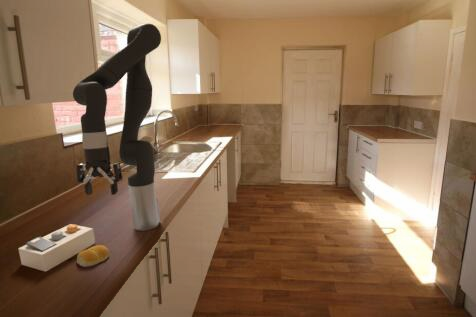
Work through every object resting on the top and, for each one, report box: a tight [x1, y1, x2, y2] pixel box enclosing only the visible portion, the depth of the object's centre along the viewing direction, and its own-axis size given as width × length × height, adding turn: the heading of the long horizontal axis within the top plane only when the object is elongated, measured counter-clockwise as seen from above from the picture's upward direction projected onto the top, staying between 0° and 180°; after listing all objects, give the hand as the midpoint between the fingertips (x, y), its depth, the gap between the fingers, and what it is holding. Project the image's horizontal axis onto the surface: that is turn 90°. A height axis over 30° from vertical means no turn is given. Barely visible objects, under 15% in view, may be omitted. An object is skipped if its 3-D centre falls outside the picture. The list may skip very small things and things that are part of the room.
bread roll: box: [76, 244, 110, 268], centre depth 96 cm, size 8×9×4 cm
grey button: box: [51, 231, 64, 242], centre depth 100 cm, size 3×3×2 cm
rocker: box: [26, 236, 55, 252], centre depth 95 cm, size 4×7×1 cm, turn 66°
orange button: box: [67, 224, 79, 234], centre depth 104 cm, size 3×3×2 cm
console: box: [17, 223, 96, 272], centre depth 100 cm, size 18×11×6 cm, turn 156°
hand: (101, 194), depth 102 cm, fingers open, 8 cm apart
